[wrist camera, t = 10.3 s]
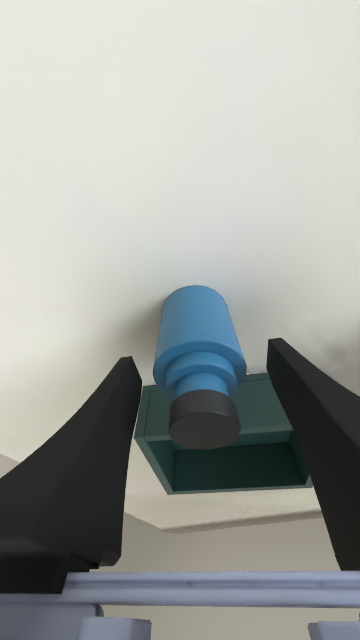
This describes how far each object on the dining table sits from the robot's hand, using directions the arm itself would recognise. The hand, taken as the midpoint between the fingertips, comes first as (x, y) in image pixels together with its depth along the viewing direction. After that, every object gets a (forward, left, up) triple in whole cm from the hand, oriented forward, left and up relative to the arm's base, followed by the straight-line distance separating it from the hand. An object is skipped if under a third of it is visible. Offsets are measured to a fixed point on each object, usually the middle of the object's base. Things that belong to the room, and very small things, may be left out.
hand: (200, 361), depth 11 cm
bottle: (0, 0, -5) cm, 5 cm away
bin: (-1, +13, -5) cm, 14 cm away
